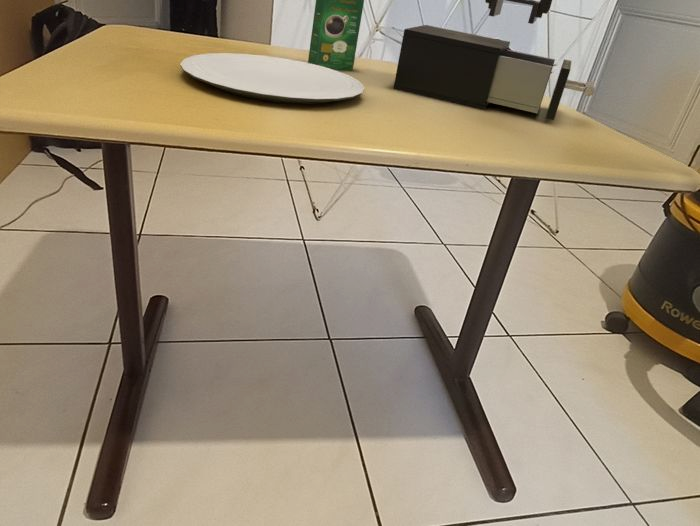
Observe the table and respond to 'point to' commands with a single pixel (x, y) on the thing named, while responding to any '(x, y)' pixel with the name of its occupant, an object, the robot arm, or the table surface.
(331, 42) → the coffee box
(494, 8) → the box
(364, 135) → the table surface
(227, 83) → the plate
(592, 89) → the grey box with handle
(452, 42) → the black drawer box
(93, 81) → the table surface
